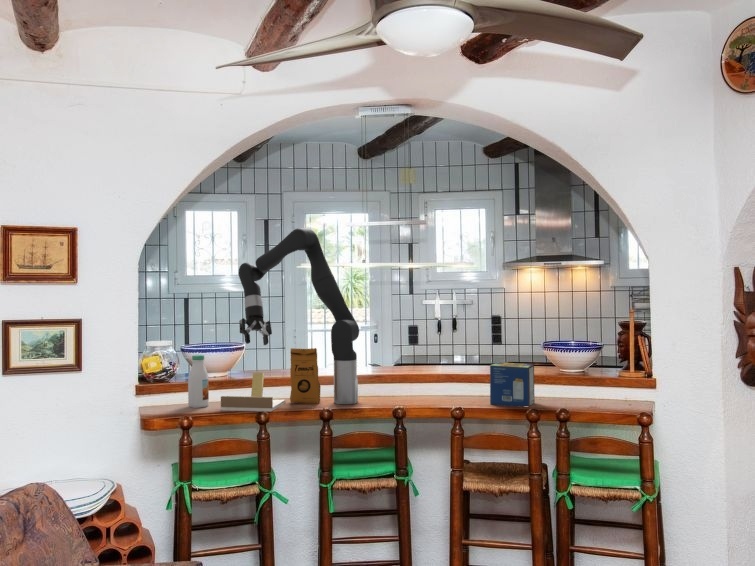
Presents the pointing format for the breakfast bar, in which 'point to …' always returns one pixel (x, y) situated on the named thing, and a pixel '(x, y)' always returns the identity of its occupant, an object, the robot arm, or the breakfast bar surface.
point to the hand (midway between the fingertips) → (257, 344)
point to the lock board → (249, 403)
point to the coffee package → (304, 376)
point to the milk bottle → (198, 383)
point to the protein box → (512, 384)
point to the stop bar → (257, 385)
